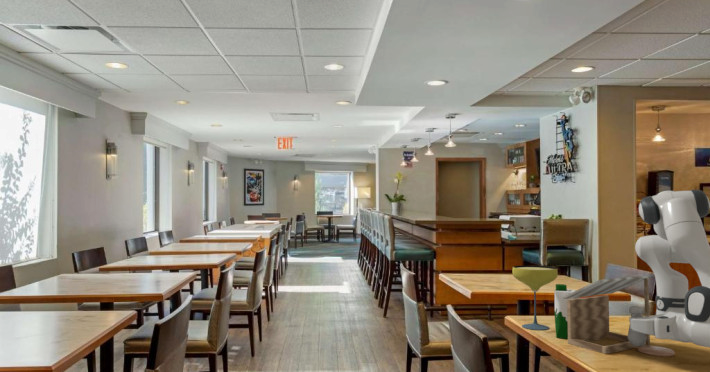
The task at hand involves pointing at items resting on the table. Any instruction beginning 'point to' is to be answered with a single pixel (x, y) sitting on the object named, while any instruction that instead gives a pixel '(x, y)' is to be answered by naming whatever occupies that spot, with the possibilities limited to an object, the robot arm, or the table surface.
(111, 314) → the table surface
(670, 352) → the terracotta saucer
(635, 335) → the salt shaker
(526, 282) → the cocktail glass
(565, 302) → the milk carton
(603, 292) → the cold frame
